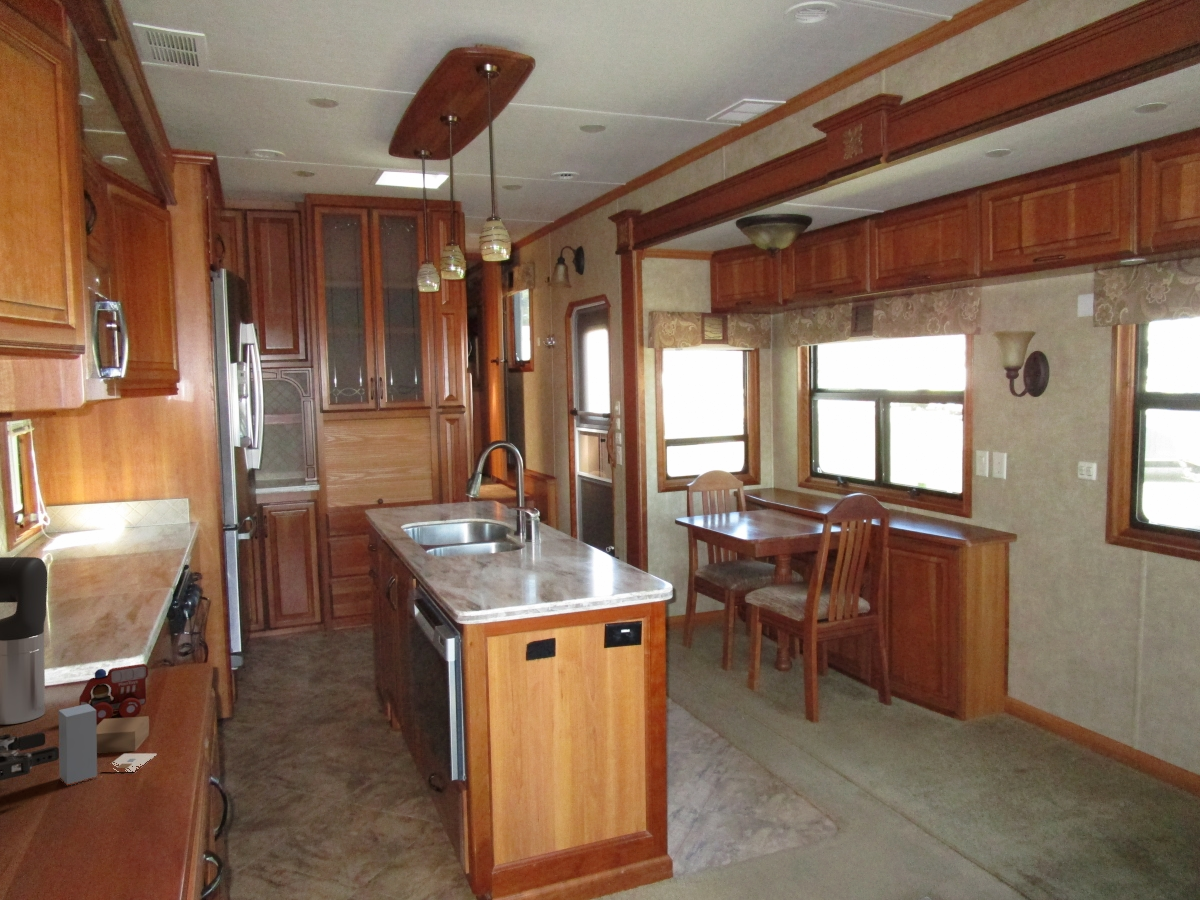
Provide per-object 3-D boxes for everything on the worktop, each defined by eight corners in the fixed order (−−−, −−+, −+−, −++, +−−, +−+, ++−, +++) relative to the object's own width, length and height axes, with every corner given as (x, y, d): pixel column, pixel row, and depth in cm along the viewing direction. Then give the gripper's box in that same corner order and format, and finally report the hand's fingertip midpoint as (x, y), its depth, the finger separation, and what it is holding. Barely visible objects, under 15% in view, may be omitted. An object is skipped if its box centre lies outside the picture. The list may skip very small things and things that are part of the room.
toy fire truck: (79, 716, 173) (78, 666, 173) (147, 705, 180) (146, 658, 179) (79, 727, 167) (79, 676, 167) (149, 715, 174) (149, 666, 174)
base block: (88, 755, 154) (87, 734, 154) (104, 739, 162) (103, 718, 162) (135, 752, 156) (135, 731, 156) (148, 736, 164) (148, 716, 164)
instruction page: (99, 773, 146) (99, 771, 146) (124, 754, 154) (124, 752, 154) (134, 773, 146) (134, 771, 146) (157, 754, 154) (156, 753, 154)
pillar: (67, 786, 141) (66, 716, 140) (59, 778, 144) (58, 710, 143) (97, 778, 144) (96, 710, 144) (88, 770, 147) (88, 703, 147)
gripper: (-63, 764, 124) (62, 734, 136) (-79, 738, 134) (39, 712, 146) (-62, 813, 124) (63, 779, 136) (-78, 783, 134) (40, 754, 146)
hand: (51, 745), depth 141 cm, fingers open, 8 cm apart
